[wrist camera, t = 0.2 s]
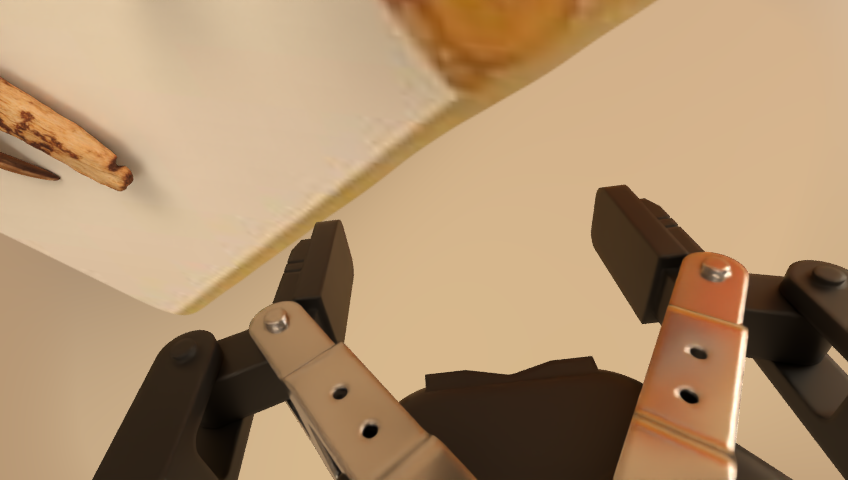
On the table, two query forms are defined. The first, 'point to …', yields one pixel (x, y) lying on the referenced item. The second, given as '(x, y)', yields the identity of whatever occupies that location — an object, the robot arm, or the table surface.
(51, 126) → the lashed bone hook
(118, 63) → the table surface
